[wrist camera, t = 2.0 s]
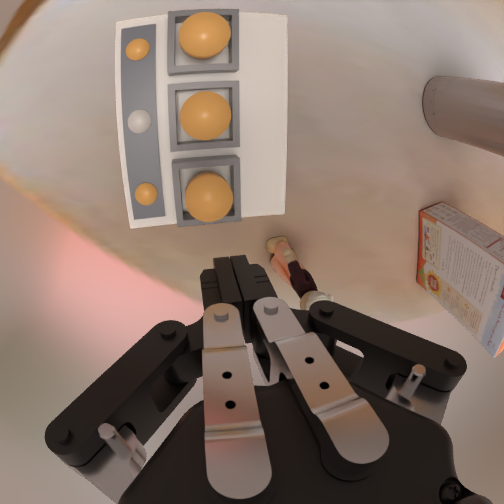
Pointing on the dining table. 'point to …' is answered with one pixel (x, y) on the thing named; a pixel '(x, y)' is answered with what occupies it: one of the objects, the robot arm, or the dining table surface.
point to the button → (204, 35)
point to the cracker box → (464, 271)
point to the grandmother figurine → (294, 272)
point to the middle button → (205, 115)
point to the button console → (169, 106)
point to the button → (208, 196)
